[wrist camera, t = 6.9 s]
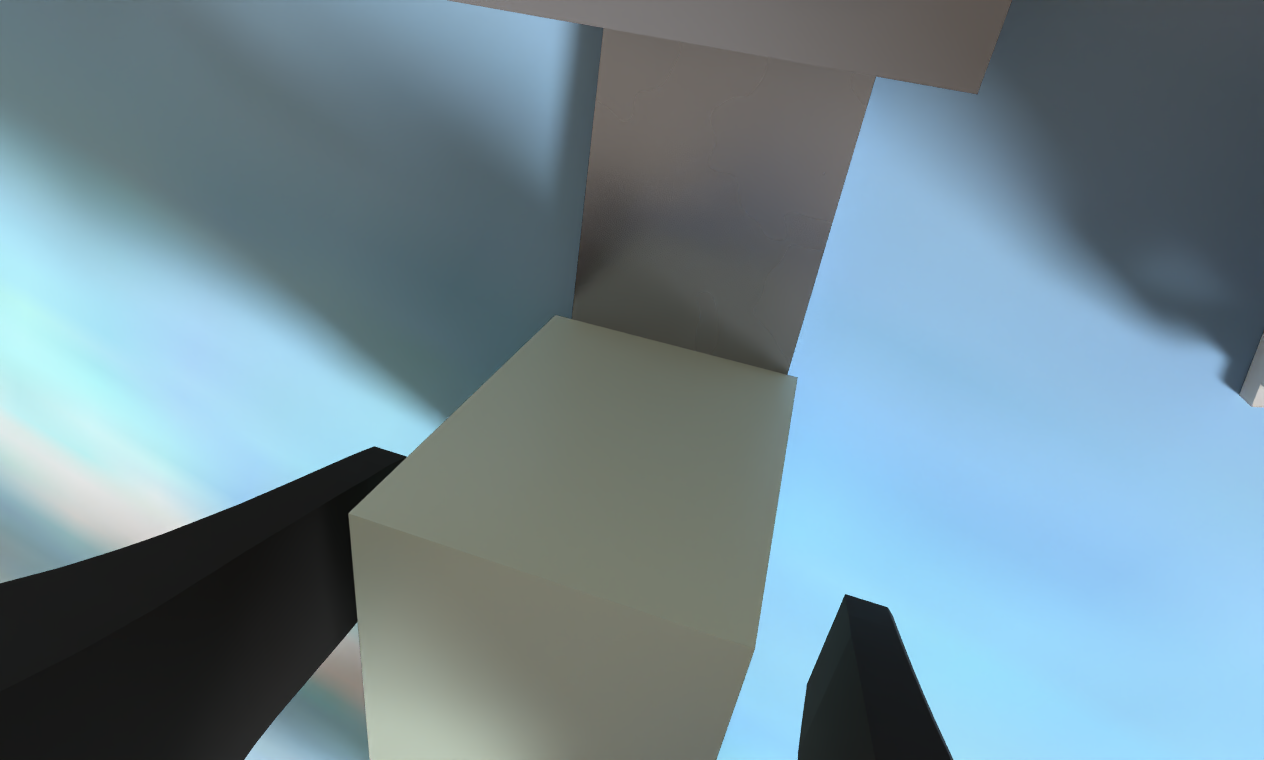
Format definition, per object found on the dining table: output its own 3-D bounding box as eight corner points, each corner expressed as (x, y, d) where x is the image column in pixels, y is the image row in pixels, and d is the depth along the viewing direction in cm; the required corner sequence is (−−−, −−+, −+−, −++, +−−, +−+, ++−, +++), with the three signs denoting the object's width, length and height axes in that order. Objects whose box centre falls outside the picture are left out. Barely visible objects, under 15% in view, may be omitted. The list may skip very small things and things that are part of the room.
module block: (735, 583, 14) (668, 898, 9) (531, 518, 15) (364, 773, 10) (797, 377, 12) (754, 649, 7) (550, 313, 12) (339, 511, 7)
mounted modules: (676, 813, 18) (620, 1063, 14) (507, 748, 19) (404, 963, 15) (1030, -284, 7) (1299, -751, 3) (602, -319, 8) (315, -720, 4)
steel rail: (660, 796, 20) (653, 824, 19) (532, 747, 20) (521, 772, 20) (1003, -364, 8) (1017, -403, 7) (668, -386, 8) (652, -421, 8)
